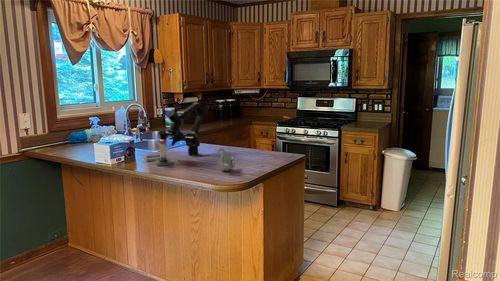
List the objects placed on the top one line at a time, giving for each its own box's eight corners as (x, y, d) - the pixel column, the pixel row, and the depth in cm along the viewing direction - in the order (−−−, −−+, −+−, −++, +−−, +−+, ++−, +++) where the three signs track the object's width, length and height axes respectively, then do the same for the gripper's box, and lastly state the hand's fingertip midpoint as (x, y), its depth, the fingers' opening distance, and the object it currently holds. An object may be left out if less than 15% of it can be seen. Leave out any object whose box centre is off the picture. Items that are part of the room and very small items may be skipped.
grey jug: (217, 167, 228) (216, 143, 226) (234, 167, 229) (233, 143, 227) (217, 174, 212) (216, 149, 209) (235, 173, 213) (234, 148, 210)
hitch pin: (167, 162, 243) (165, 138, 240) (169, 164, 238) (167, 140, 235) (158, 163, 241) (157, 139, 238) (160, 165, 236) (158, 141, 233)
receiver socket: (169, 161, 245) (169, 158, 245) (172, 164, 237) (172, 161, 237) (155, 163, 242) (154, 160, 241) (157, 166, 233) (157, 163, 233)
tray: (163, 156, 261) (163, 154, 261) (166, 159, 252) (166, 157, 252) (144, 158, 255) (144, 156, 255) (147, 161, 246) (147, 159, 246)
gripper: (192, 134, 250) (183, 153, 242) (170, 132, 258) (161, 150, 250) (185, 124, 242) (175, 143, 234) (163, 123, 250) (152, 141, 242)
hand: (166, 145), depth 240 cm, fingers open, 9 cm apart
